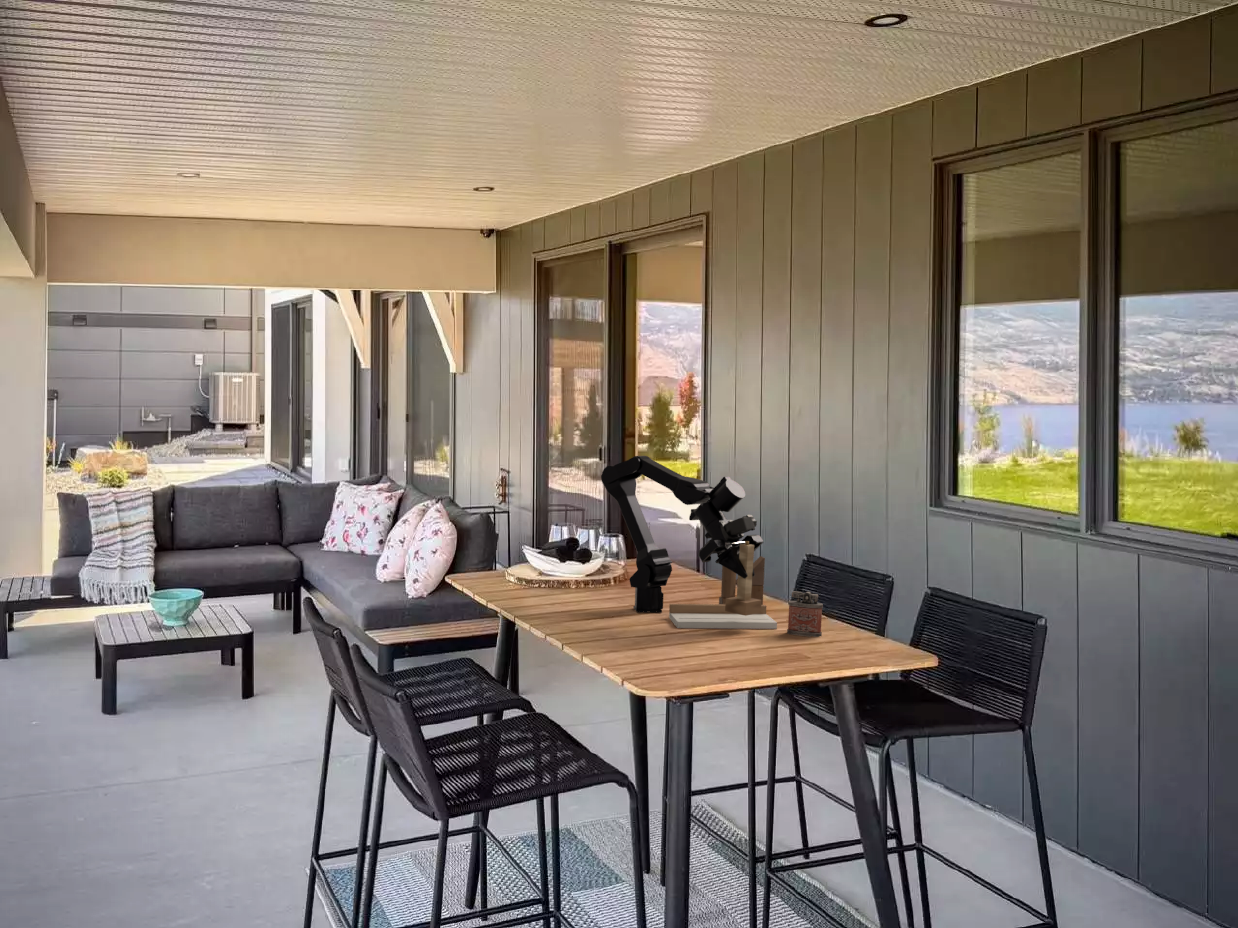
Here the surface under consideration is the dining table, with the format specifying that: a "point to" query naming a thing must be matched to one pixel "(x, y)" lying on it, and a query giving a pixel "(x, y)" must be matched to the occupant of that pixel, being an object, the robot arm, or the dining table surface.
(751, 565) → the wooden post on base
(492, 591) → the dining table surface
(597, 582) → the dining table surface
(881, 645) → the dining table surface
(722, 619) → the board
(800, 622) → the lighter
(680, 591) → the dining table surface
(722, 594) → the brown wooden block structure
